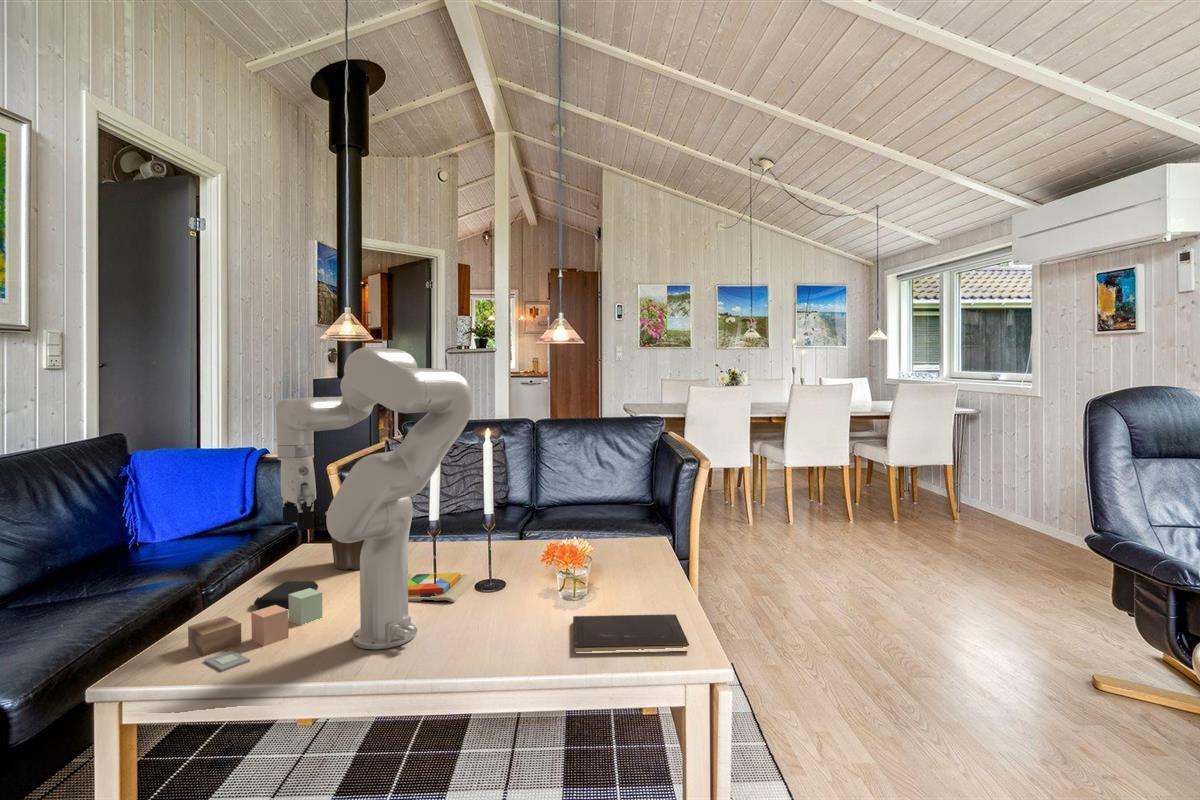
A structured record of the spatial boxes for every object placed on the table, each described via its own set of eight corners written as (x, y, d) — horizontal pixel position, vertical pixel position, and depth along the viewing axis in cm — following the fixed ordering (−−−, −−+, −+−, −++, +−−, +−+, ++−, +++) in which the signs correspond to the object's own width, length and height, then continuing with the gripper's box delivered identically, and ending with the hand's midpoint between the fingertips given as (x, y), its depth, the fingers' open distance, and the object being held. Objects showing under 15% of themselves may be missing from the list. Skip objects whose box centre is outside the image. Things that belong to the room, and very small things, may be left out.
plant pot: (350, 576, 167) (350, 518, 166) (313, 567, 175) (313, 512, 174) (397, 561, 181) (396, 508, 180) (361, 553, 189) (360, 502, 189)
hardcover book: (689, 655, 121) (689, 643, 121) (573, 657, 120) (573, 646, 120) (675, 623, 137) (675, 613, 137) (573, 625, 136) (573, 615, 136)
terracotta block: (288, 638, 127) (288, 609, 127) (264, 646, 123) (263, 617, 123) (275, 632, 130) (275, 604, 130) (251, 640, 126) (251, 612, 126)
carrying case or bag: (279, 590, 157) (246, 612, 142) (279, 578, 157) (246, 599, 142) (321, 590, 157) (292, 612, 142) (321, 579, 157) (292, 599, 142)
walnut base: (241, 645, 124) (241, 623, 124) (203, 657, 119) (202, 634, 118) (225, 636, 128) (225, 615, 128) (188, 648, 123) (188, 626, 122)
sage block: (322, 618, 138) (322, 592, 138) (301, 625, 134) (300, 598, 134) (310, 613, 141) (309, 588, 140) (288, 620, 136) (288, 594, 136)
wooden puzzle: (410, 579, 166) (410, 566, 166) (476, 582, 164) (476, 569, 164) (380, 602, 149) (380, 588, 149) (454, 606, 147) (454, 591, 147)
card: (249, 661, 117) (249, 658, 116) (221, 671, 112) (221, 668, 112) (232, 652, 120) (232, 649, 120) (204, 661, 116) (204, 659, 116)
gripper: (326, 453, 136) (328, 529, 136) (300, 448, 148) (301, 518, 148) (290, 456, 131) (293, 535, 131) (266, 451, 143) (268, 523, 143)
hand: (297, 526), depth 140 cm, fingers open, 9 cm apart
